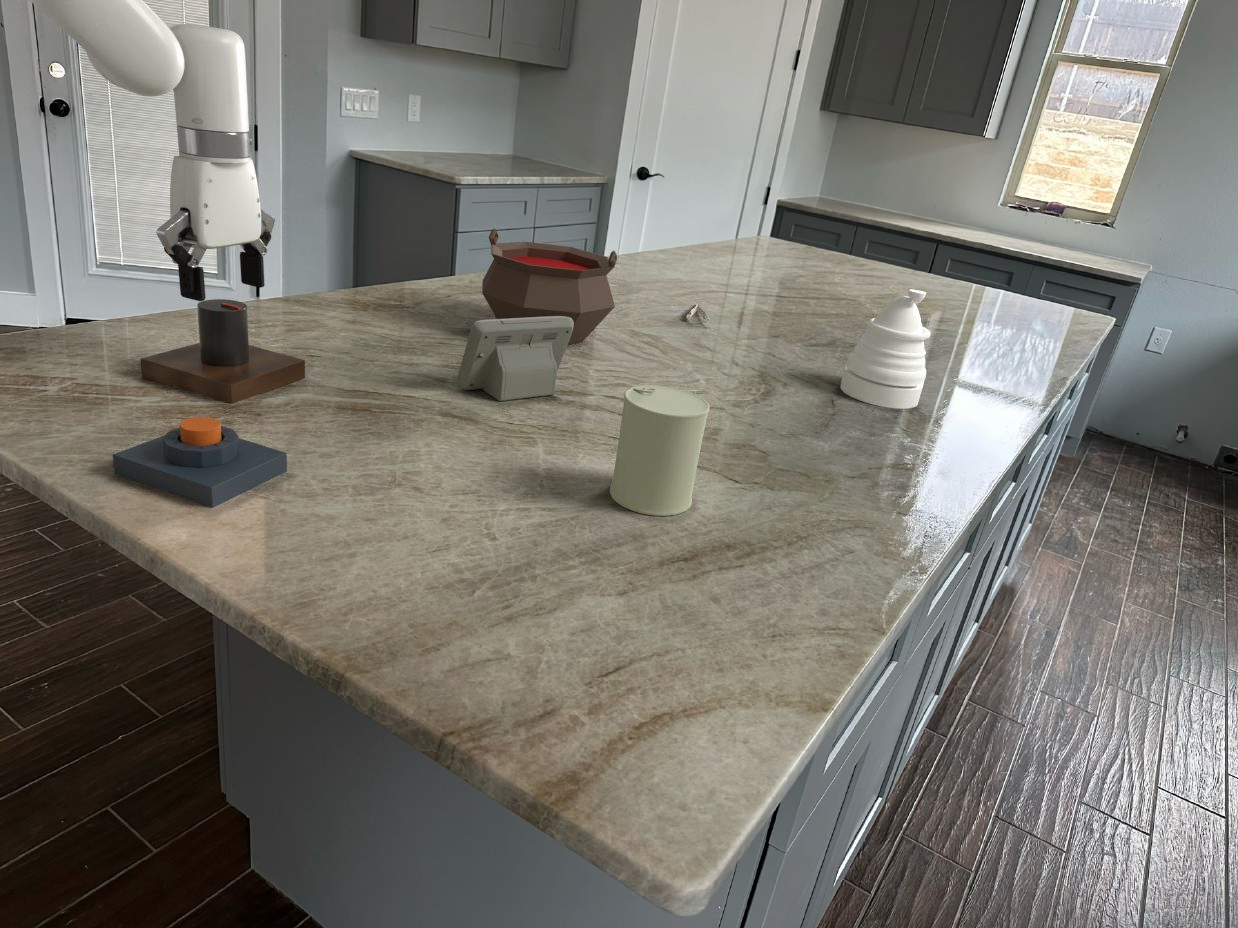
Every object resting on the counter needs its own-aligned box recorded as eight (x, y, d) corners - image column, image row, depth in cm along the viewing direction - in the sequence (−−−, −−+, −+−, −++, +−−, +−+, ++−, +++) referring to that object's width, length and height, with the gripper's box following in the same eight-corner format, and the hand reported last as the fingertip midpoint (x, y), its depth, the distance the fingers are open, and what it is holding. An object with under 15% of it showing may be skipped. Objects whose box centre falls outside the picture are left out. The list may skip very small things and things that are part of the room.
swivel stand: (141, 377, 105) (139, 358, 104) (221, 354, 117) (220, 337, 116) (231, 404, 102) (230, 385, 101) (305, 378, 113) (304, 360, 112)
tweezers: (708, 326, 169) (710, 316, 169) (685, 322, 169) (686, 312, 169) (706, 311, 186) (708, 302, 185) (685, 308, 186) (686, 299, 185)
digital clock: (555, 377, 127) (562, 308, 123) (578, 399, 120) (587, 326, 115) (448, 380, 120) (452, 306, 116) (466, 403, 113) (471, 325, 108)
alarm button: (172, 441, 82) (170, 424, 82) (201, 430, 86) (200, 414, 85) (201, 450, 81) (200, 433, 81) (229, 439, 85) (228, 422, 84)
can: (639, 471, 100) (654, 375, 95) (706, 499, 96) (726, 399, 91) (592, 494, 93) (607, 390, 88) (663, 525, 88) (682, 418, 84)
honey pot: (934, 405, 141) (966, 299, 133) (881, 411, 134) (912, 299, 127) (876, 379, 150) (903, 278, 143) (824, 383, 143) (850, 278, 136)
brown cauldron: (626, 331, 157) (638, 242, 150) (590, 365, 135) (603, 262, 129) (504, 307, 161) (511, 219, 154) (450, 336, 139) (456, 235, 133)
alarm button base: (114, 475, 82) (110, 437, 81) (195, 442, 91) (193, 408, 89) (212, 509, 79) (210, 470, 77) (287, 472, 88) (286, 436, 86)
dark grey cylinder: (190, 359, 106) (186, 302, 103) (224, 349, 111) (221, 294, 108) (226, 369, 105) (223, 311, 102) (258, 359, 110) (256, 303, 107)
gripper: (243, 140, 106) (250, 275, 113) (125, 142, 91) (141, 298, 98) (292, 149, 104) (297, 286, 111) (179, 152, 89) (192, 311, 96)
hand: (224, 291), depth 105 cm, fingers open, 9 cm apart
